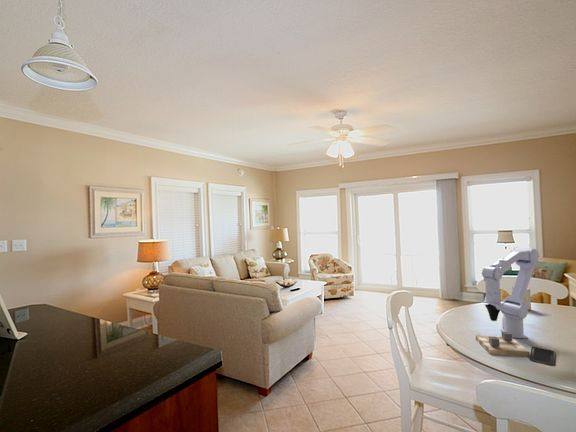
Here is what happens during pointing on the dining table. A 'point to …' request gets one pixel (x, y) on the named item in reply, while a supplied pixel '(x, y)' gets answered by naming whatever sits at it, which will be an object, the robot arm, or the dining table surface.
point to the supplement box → (527, 298)
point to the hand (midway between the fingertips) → (493, 320)
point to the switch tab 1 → (494, 341)
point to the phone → (542, 356)
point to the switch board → (503, 346)
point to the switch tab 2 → (507, 336)
